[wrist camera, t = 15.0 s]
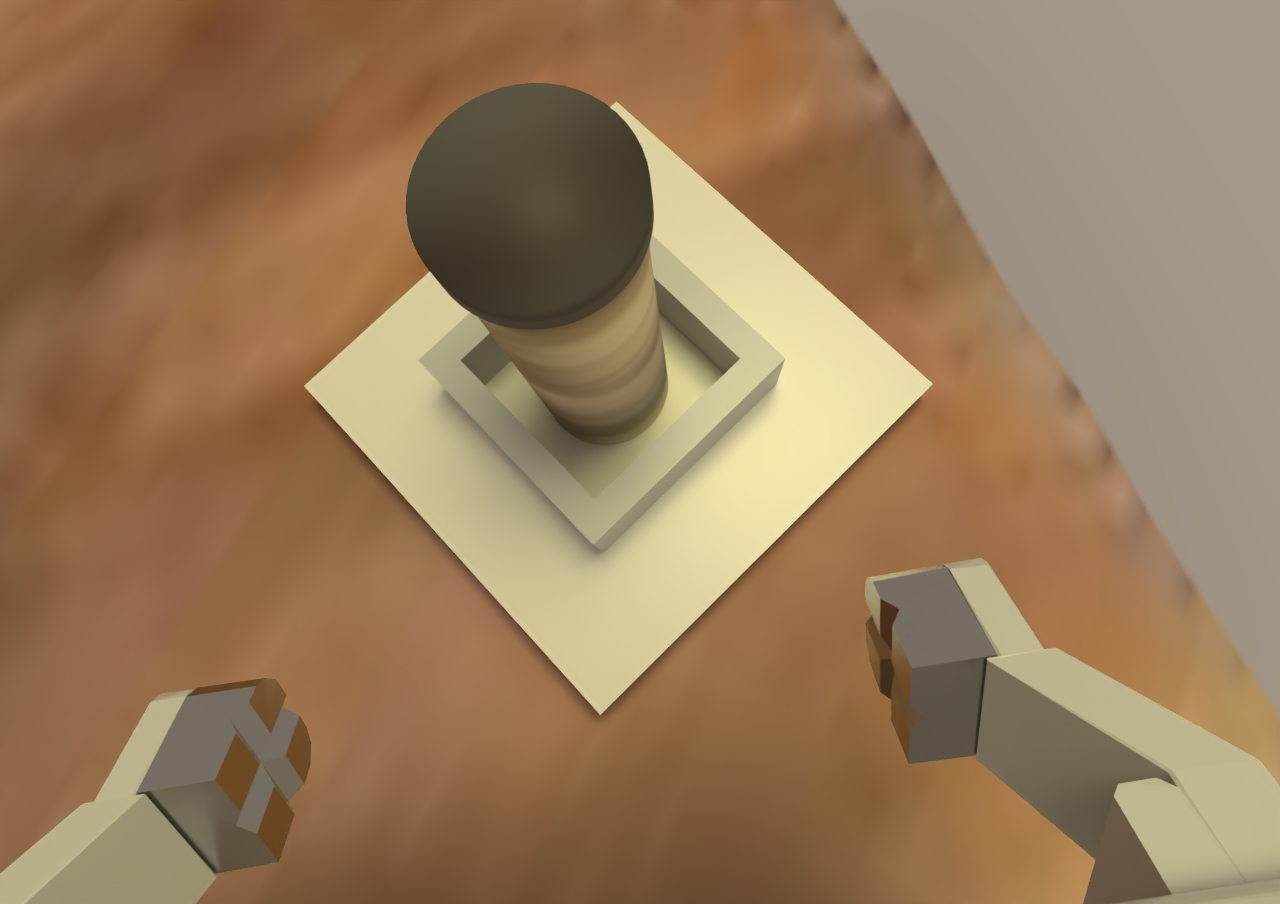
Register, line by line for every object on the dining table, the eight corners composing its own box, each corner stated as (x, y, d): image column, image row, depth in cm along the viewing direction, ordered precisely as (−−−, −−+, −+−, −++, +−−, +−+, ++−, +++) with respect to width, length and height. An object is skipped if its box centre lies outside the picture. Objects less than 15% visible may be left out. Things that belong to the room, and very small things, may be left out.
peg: (513, 384, 29) (356, 197, 16) (609, 295, 29) (534, 39, 16) (604, 478, 28) (518, 362, 15) (701, 384, 28) (703, 189, 15)
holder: (323, 396, 31) (260, 361, 26) (620, 124, 32) (607, 48, 28) (605, 709, 28) (587, 728, 23) (921, 395, 29) (960, 357, 25)
